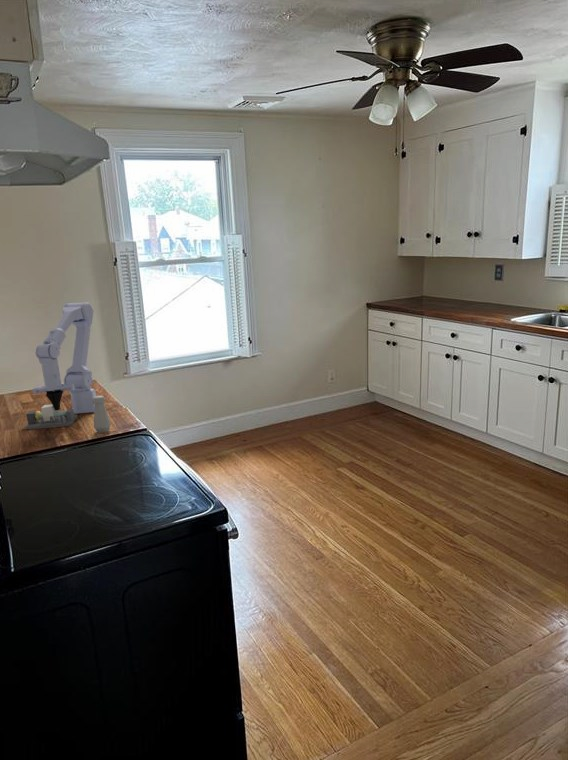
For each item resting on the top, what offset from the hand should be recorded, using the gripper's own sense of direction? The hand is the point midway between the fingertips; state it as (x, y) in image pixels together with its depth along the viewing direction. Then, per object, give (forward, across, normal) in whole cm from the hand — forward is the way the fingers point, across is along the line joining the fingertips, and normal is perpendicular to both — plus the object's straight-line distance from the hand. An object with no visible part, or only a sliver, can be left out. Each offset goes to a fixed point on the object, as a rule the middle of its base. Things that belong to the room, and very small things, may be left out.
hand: (57, 409), depth 205 cm
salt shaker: (+5, +19, -16) cm, 26 cm away
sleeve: (+4, -3, 0) cm, 5 cm away
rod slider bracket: (+5, -3, 0) cm, 6 cm away
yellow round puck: (+4, -7, 0) cm, 8 cm away
